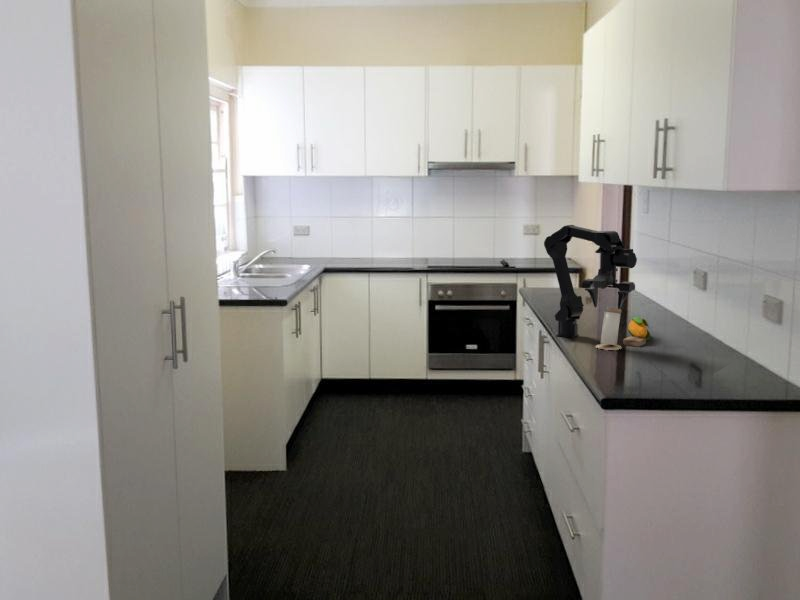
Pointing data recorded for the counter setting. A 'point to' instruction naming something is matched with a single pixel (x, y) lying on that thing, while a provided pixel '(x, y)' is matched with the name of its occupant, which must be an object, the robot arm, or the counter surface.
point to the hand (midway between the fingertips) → (607, 308)
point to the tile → (634, 341)
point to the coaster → (608, 347)
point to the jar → (610, 326)
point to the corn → (639, 328)
